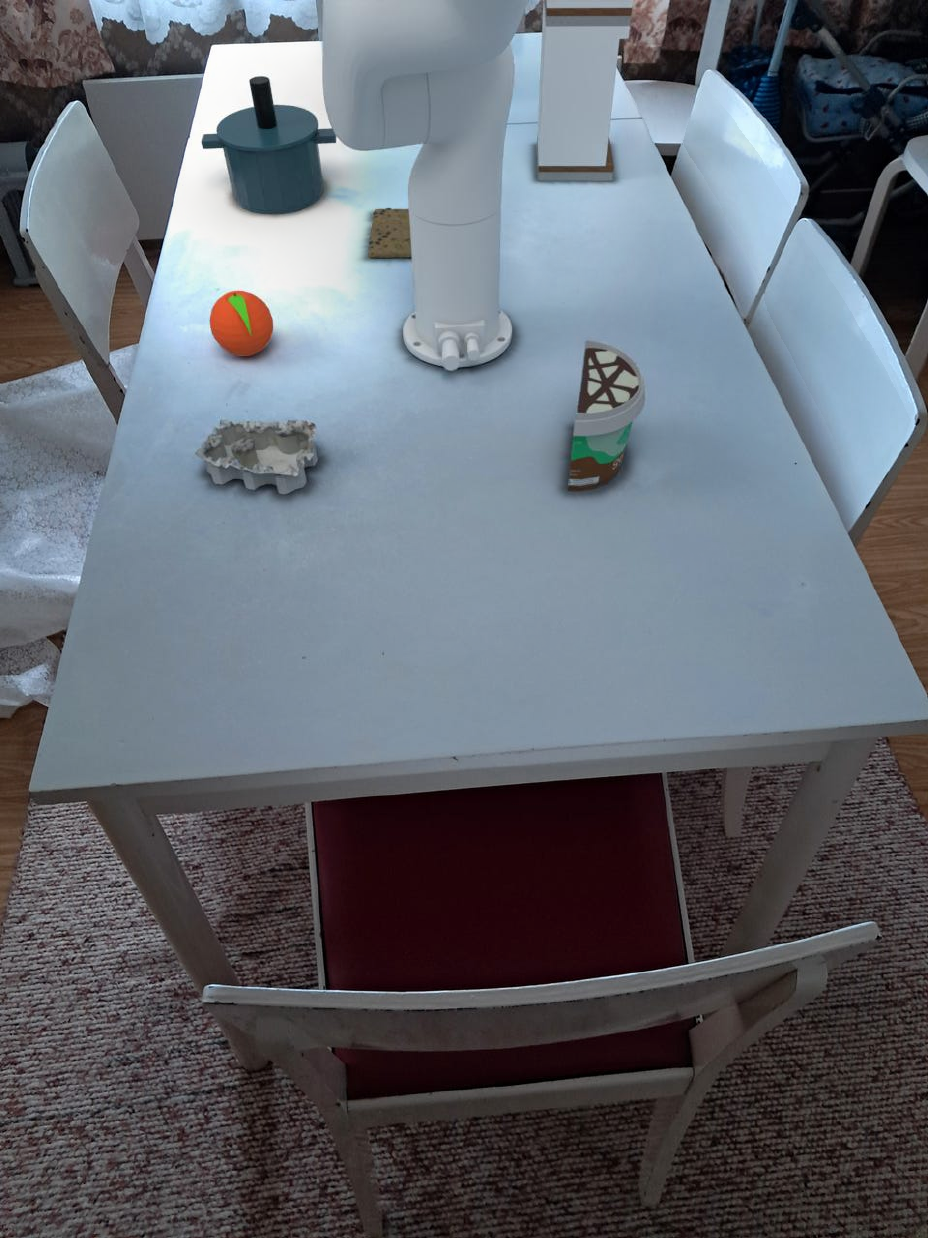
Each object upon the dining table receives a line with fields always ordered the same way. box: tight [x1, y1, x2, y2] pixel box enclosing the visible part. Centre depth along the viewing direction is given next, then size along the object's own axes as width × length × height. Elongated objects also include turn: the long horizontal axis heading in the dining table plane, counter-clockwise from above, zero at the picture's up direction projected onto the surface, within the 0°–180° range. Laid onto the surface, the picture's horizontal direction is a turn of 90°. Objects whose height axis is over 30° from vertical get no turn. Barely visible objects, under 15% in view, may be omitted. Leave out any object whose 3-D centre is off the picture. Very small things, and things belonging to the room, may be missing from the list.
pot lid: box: [216, 75, 319, 151], centre depth 115 cm, size 14×14×7 cm
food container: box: [567, 339, 646, 492], centre depth 83 cm, size 12×6×10 cm, turn 171°
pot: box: [201, 127, 337, 215], centre depth 120 cm, size 13×18×8 cm
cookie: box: [367, 207, 412, 259], centre depth 115 cm, size 12×12×1 cm
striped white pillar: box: [536, 0, 634, 182], centre depth 115 cm, size 11×11×35 cm
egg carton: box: [194, 419, 319, 495], centre depth 85 cm, size 11×8×4 cm
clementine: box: [208, 290, 274, 357], centre depth 97 cm, size 8×7×7 cm
